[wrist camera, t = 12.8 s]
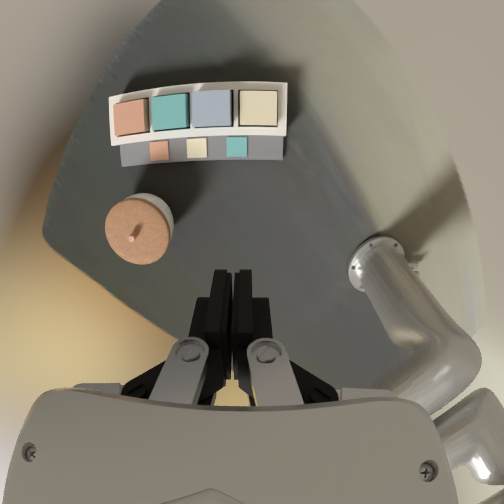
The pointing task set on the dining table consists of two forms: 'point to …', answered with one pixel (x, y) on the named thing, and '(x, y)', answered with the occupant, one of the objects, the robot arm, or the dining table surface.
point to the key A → (131, 117)
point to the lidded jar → (140, 228)
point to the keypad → (203, 130)
